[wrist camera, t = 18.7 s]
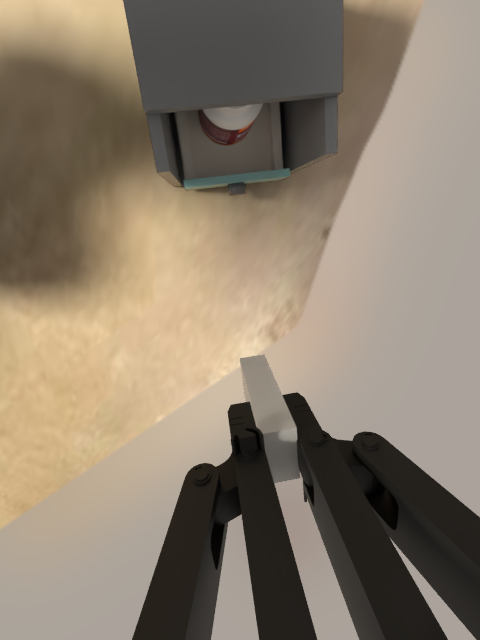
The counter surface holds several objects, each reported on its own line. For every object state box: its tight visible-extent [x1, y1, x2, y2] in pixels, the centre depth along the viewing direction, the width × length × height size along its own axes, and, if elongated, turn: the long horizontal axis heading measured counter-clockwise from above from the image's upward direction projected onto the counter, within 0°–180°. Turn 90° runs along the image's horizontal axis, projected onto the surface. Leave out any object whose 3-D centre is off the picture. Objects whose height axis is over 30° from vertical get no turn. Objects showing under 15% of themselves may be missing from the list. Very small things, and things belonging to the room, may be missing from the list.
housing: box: [123, 0, 343, 187], centre depth 28 cm, size 18×15×16 cm
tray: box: [174, 102, 290, 195], centre depth 33 cm, size 18×12×4 cm, turn 7°
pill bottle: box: [198, 103, 263, 146], centre depth 30 cm, size 6×6×11 cm
